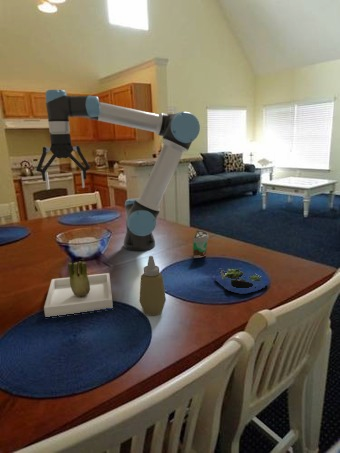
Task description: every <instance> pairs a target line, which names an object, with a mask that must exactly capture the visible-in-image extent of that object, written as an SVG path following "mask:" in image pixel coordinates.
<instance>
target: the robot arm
mask: <svg viewBox="0 0 340 453" xmlns="http://www.w3.org/2000/svg"><path fill="white" fill-rule="evenodd" d="M45 107H46V112H47V121H48V122H47V123H48V130H49V133H50V134H49V140H50V147H48V146H43V147H42V154H41V156H40V159H39V161H38V164H37V167H36V169H35V170H36V172H39V173H41V177H42V181H43V182H45V186H46V191H49V190H50V180H49V172H48V171H47V170H48V169H49V167H50V166H51V164H52V163H53V162H54V161H55V159H56V158H57V159H68V158H70V159H71V161H73V162H74V164H76V166H78V167H79V168H80V170H81V171H80V175H81V176H80V177H81V187H82V189H84V188H85V180H87V177H88V176H87V171H89V170H90V169H91V166H90V163H88V161H87V159H86V158H85V156H84V154H83V152H82V151H81V146H80V145H76V146H72V138H71V137H72V136H71V134H70V132H71V127H70V120H69V119H70V118H73V117H74V118H83V119H86V120H87V119H88V120H93V121H98V122H104V123H108V124H113V125H119V126H124V127H128V128H133V129H138V130H143V131H148V132H152V133H155V134H156V135H157V136H160V137H161V138H162V139H161V140H162V141H163V145H162V148H161V150H160V152H159V154H158V157H157V159H156V161H155V163H154V165H153V167H152V169H151V172H150V175H149V177H148V178H147V181H146V183H145V186H144V187H143V190H142V192H141V195H140V196H138V197H137V198H130V199H126V200H125V202H124V207H125V226H126V227H125V229H126V232H125V235H124V240H123V248H124V249H126V250H127V251H132V252H133V251H134V252H143V251H148V250H151V249H153V248H155V246H156V241H155V236H154V235H153V234H154V233H153V232H154V231H155V228H156V225H157V218H158V216H159V214H160V212H161V208H160V204H161V202H162V199H163V197H164V195H165V193H166V190H167V188H168V186H169V184H170V182H171V179H172V177H173V176H174V173H175V171H176V169H177V167H178V165H179V162H180V160H181V158H182V155H183V154H184V153H186V152H188V151H189V149H190V147H191V146H192V143H193V141H195V140H196V139H197V138H198V136H199V134H200V130H201V127H200V126H201V125H200V122H199V119H198V117H196V115H195V114H193V113H191V112H188V111H180V112H177V113H164V112H160V113H159V114H158V113H153V112H148V111H144V110H139V109H135V108H130V107H125V106H120V105H114V104H112V103H111V104H110V103H106V102H101V101H100V98H99V97H98V95H68V94H67V91H66V90H64V89H47V90H46V91H45ZM73 151H75V152H76V153H77V154H78V156H79V157H80V159H81V161H82V162H83V164H84V165H83V164H82V163H81V162H80V161H79V160H78V159H77V158H76V157H75V156H74V155H73V154H72V152H73ZM49 152H51V153H52V155H51V157H50V159H49V160H48V162H47V163H46V164H45V165H43V164H44V161H45V160H46V157H47V154H49ZM46 171H47V172H46Z"/></svg>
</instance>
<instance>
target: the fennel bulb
mask: <svg viewBox="0 0 340 453" xmlns="http://www.w3.org/2000/svg"><path fill="white" fill-rule="evenodd" d="M67 266H68V272H69V273H68V274H69V277H70V285H71V289H72V291H73V293H74V295H76V296H77V297H84V296H86V295H87V294H88V293H89V291H90V284H89V280H88V276H87V275H88V272H87V271H88V270H87V262H86V261H78V262H76V261H75V262H69V263H67Z"/></svg>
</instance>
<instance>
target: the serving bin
mask: <svg viewBox="0 0 340 453" xmlns="http://www.w3.org/2000/svg"><path fill="white" fill-rule="evenodd" d="M87 276H88V280H89V284H90V291H89V293H88V294H87V295H86V296H84V297H77V296H76V295H74V293H73V291H72V289H71V285H70V276H68V277H60V278H59V277H58V278H51V281H50V285H49V288H48V292H47V295H46V300H45V302H44V306H43V311H44V312H43V313H44V316H45V317H50V316H57V315H58V316H59V315H66V314H74V313H80V312H87V311H94V310H100V309H106V308H113V309H114V307H113V305H114V304H113V296H112V295H113V294H112V293H113V292H112V286H111V278H110V272H107V273H106V272H105V273H98V274H89V275H88V274H87ZM74 315H75V314H74ZM59 317H60V316H59Z"/></svg>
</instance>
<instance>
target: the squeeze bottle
mask: <svg viewBox="0 0 340 453" xmlns="http://www.w3.org/2000/svg"><path fill="white" fill-rule="evenodd" d="M163 277H164V276H163V274H162V273H161V272H160V266H158V265H156V262H155V259H154V256H153V255H150V256H148V261H147V265H146V266H144V267H143V273H142V274H141V276H140V284H139V285H140V286H139V287H140V288H139V299H138V301H139V304H140V306H141V308H142V309H141V310H143V313H144V314H145V315H147V316H157V315H160V314H161V313H162V312H163V310H164V306H165V305H166V300H167V299H166V297H167V296H166V291H165V284H164V283H165V282H164V278H163Z"/></svg>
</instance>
